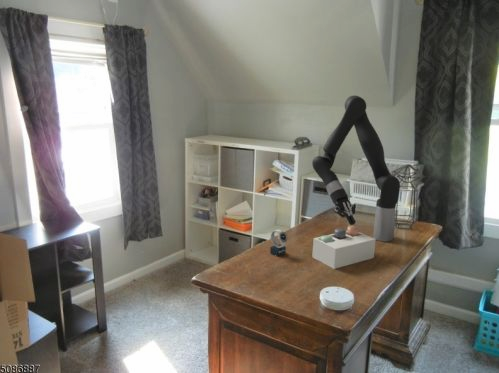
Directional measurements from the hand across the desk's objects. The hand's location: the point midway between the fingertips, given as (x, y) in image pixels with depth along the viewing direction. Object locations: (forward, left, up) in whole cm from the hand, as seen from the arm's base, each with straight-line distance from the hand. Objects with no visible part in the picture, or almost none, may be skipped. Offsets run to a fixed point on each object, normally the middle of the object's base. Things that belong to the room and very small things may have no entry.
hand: (353, 224), depth 189 cm
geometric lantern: (-53, -14, -14) cm, 57 cm away
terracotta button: (0, 0, -6) cm, 6 cm away
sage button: (+16, 0, -8) cm, 18 cm away
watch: (+31, -15, -14) cm, 37 cm away
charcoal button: (+8, 0, -6) cm, 10 cm away
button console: (+8, +3, -14) cm, 16 cm away
